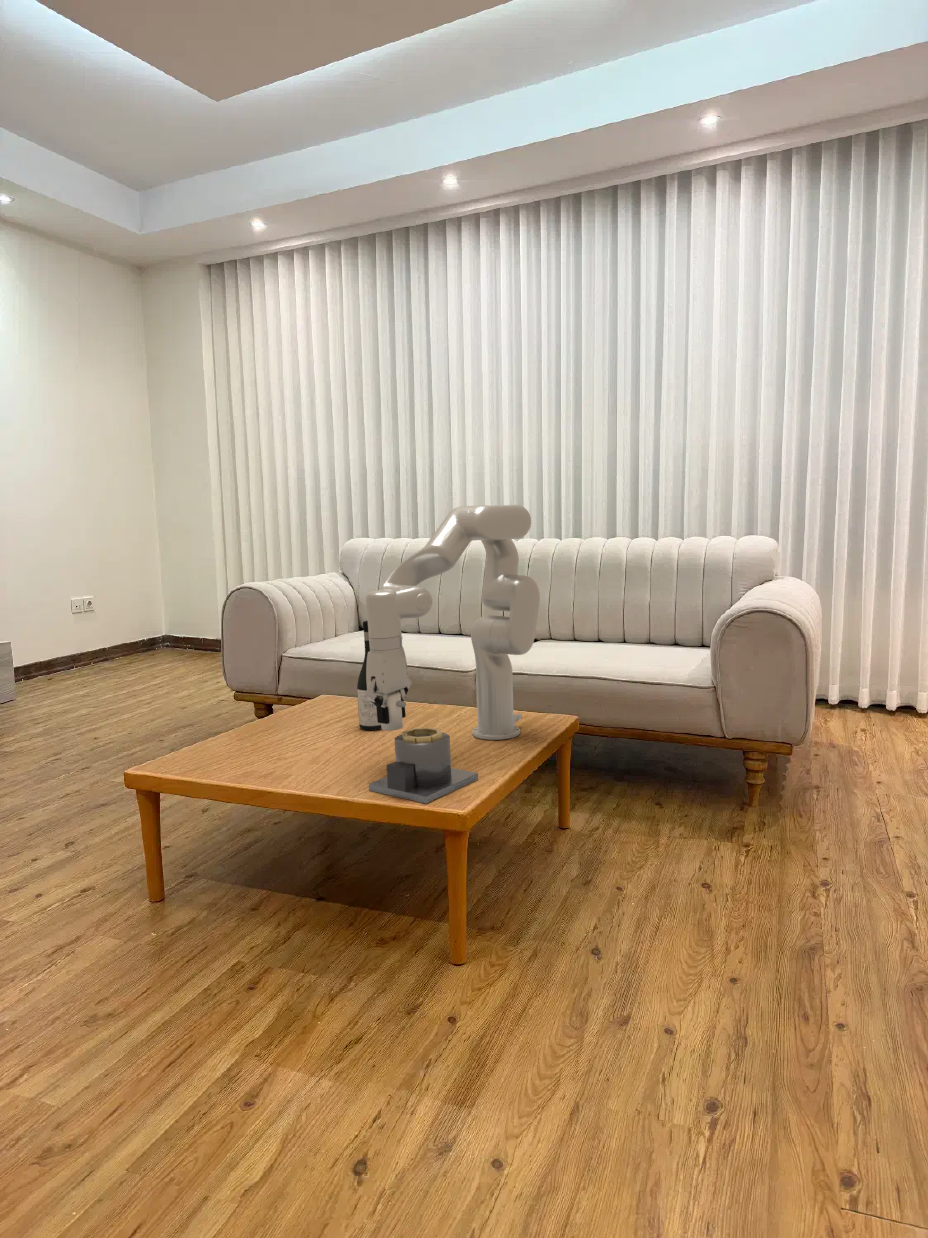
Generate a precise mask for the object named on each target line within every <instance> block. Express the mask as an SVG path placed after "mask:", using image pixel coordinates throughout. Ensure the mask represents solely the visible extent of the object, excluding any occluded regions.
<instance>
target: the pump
mask: <svg viewBox="0 0 928 1238" xmlns="http://www.w3.org/2000/svg"><path fill="white" fill-rule="evenodd" d="M380 700H381V701H382V696H380ZM406 706H407V703H406V700H405V701H401V694H400V692H399V691H398V692H392V693H389V694H387V702H386V707H388V710H389V724H383V723H381V726H382V729H381V730H383V731H388V732H389V731H397V730H401V729H403V727H404V723H403V718H402V707H405V708H406Z"/></svg>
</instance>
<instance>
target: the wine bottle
mask: <svg viewBox="0 0 928 1238" xmlns="http://www.w3.org/2000/svg"><path fill="white" fill-rule="evenodd" d="M362 628H363V637H364V638H363V639H364V659H363V662H362V667H361V669H360V671H359V676H358V678H357V683H356V684H357V687H356V690H357V692H356V694H357V709H358V725H359V728H360V729H362V730H366V731H378V729H379V730H383V729H382V726H381V723H378V721H377V708H376V707H375V706H374V704H373V703H372V702H371V701H370V700H369V699H368V698H366V694H367V682H366V665H367V655H368V652H369V651H370V645H369V631H368V620H364V621H362Z"/></svg>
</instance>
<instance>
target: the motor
mask: <svg viewBox="0 0 928 1238" xmlns="http://www.w3.org/2000/svg"><path fill="white" fill-rule="evenodd" d="M450 738H451V736H450V735H449V734H448V733H447V732H442V730H441V729H440V728H433V727H427V726H426V727H414V728H410V729H407V730H404V731H402V732H401V734H398V735H397V736H395V737H394V756H395V757H394V760H395V761H393V762H391V763H389V764H386V776H384V777H381V778H380V779H377V780H375V781H372V782H370V783H368V791H369V792H375V793H378V794H381V795H382V794H383V795H385V796H386V795H387V796H392V797H396V798H399V799H403V800H408V799H410V800H409V801H412V800H414V801H413V802H416V801H418V803H421V802H422V803H421V804H425V805H427V804H429V803H431V802H433V801H435V800H434V799H436V800H438V799H440V798H442V797H444V796H446V795H449V794H450V793H452V791H453V790H455V791H457V790H458V789H461V788H463V787H465V786H468V785H469V784H472V783H473V782H475V780H476V781H479V773H478V772H475V771H470V770H465V769H464V770H463V769H459V768H454V767H452V761H451V758H452V757H451V754H452V753H451V739H450ZM453 792H454V791H453ZM445 794H446V795H445ZM443 795H444V796H443ZM441 796H442V797H441ZM439 797H440V798H439ZM437 798H438V799H437ZM432 800H433V801H432ZM430 801H431V802H430Z"/></svg>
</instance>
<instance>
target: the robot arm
mask: <svg viewBox="0 0 928 1238" xmlns="http://www.w3.org/2000/svg"><path fill="white" fill-rule="evenodd" d="M531 527H532V516H531V514H530V512H529V510H528V509H526V507H525V506H523V505H520V504H505V505H503V504H502V505H501V504H500V505H496V504H495V505H485V504H484V505H482V504H481V505H462V506H457V507H454V508H453V509H452V510H450V512H449V513H447V515H446V517H445V518H444V519H443V520H442V522H441V523H440V524H439V527H438V528H437V529H436V531H434V533H433V535H432V536H431V537H430V539H429V540H428V542H427V543H426V544H425V545H424V547H422V548H421V549H420V550H418V551H417V552H415V553H414V554H412V555H411V556H409V557H408V558H407V559H405V560H404V561H402V562H401V563H400V564H398V565H397V566H396V567H395V568H394V569H393V570H392V572H391V573H390V574H389V575H388V577H387V578H386V579H385V581H384V582H383V584H382V585H381V586H380V588H379V589H377V590H372V591H369V592H368V593H367V594H366V596H365V605H366V606H365V607H366V619H367V620H366V621H368V631H369V645H370V651H369V652H368V655H367V665H366V682H367V694H366V698H368V699H369V700H370V701H371V702H372V703H373V704H374V706H375V707H376V708H377V721H378V723H383V724H389V710H388V707H386V702H387V694H389V693H392V692H400V694H401V701H405V702H406V700H407V694H408V692H409V689H410V687H411V686H412V684H413V683H412V680H411V679H410V678H409V671H408V663H407V657H406V652H405V649H404V646H403V635H402V623H401V620H402V619H417V618H421V617H423V616H426V615H427V614H428V613H429V612H430V610H431V609H432V607H433V598H432V597H433V596H432V595H431V593H430V591H429V590H428V589H426V588H424V587H422V586H419V584H421V583H422V582H424V581H425V580H428V579H431V578H434V577H436V576H439V575H442V574H443V573H446V572H448V571H450V570H452V569H453V568H454V566H455V565H456V563H457V562H458V560H460V558H461V556H462V555H463V553H464V552H465V551H466V549H467V547H468V546H469V545H470V543H471V542H472V541H481V543H482V545H483V547H484V551H485V558H486V560H485V569H484V576H483V583H482V590H481V591H482V592H481V600H482V604H483V605H484V607H486V608H487V609H489V610H493V611H498V612H509V616H504V615H494V614H493V615H483V616H480V617H479V618H477V619H476V620H475V621H474V622H473V624H472V626H471V630H470V640H471V644H472V649H473V652H474V658H475V659H474V660H475V675H476V677H475V679H476V703H477V704H476V705H477V706H476V707H477V711H476V712H477V726H475V727H474V728H472V736H474V737H475V738H476V739H480V740H481V739H482V740H486V741H487V740H489V741H490V740H491V741H494V740H495V741H499V740H501V741H502V740H508V739H512V738H516V737H518V736H519V735H520V733H521V729H520V727H518V726H516V722H518V721H521V720H522V717H523V715H522V714H521V713H520V712H518V713H514V690H513V689H514V686H513V675H514V674H513V665H512V662H511V658H510V657H509V655H513V656H522V655H525V654H527V653H528V652H529V651H531V649H532V647H533V645H534V641H535V639H536V638H535V637H536V631H537V624H538V617H539V616H538V615H539V609H540V595H541V594H540V589H539V586H538V583H537V582H536V581H535V579H533V578H532V577H530V576H528V575H524V574H523V575H522V574H518V571H519V553H518V549H517V546H516V544H515V543H514V541H513V540H518V539H521V538H523V537H525V536H526V535H527V534H528V533H529V531H530V529H531ZM380 696H382V701H381V700H380ZM406 716H407V715H406V706H405V707H402V719H405V718H406Z"/></svg>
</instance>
